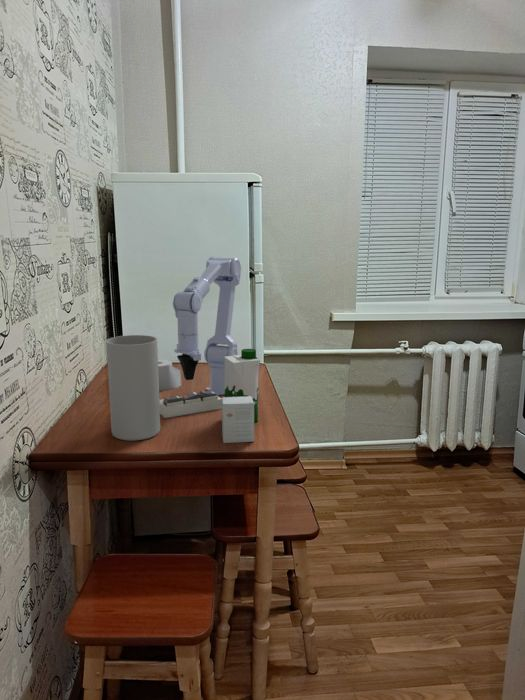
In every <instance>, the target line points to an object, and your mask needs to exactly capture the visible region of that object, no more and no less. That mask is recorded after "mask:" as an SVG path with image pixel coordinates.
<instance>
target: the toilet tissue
mask: <svg viewBox="0 0 525 700" xmlns="http://www.w3.org/2000/svg"><path fill="white" fill-rule="evenodd" d="M181 373H182V372H181V369H178V368H176V367H175V366H173V361H171V360H169V359H168V360H167V359H158V377H159V392H163V391H164V390H165V391H169V390H173V389H172V388H174V389H178V388H180V387H182V375H181ZM179 386H180V387H179ZM168 389H169V390H168Z"/></svg>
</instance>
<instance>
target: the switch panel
mask: <svg viewBox="0 0 525 700" xmlns="http://www.w3.org/2000/svg"><path fill="white" fill-rule="evenodd" d="M182 396H183V395H182ZM182 396H180V397H181V398H182ZM199 397H200V398H199V399H192V400H186V401H185V402H184V401H183V399H182V401H179V402H173V403H167V404H166V403H165V402H164V398H161V399H160V398H159V405H160V416H161V417H163V419H167V418H168V419H169V418H174V417H179V416H185V415H192V414H197V413H204V412H209V411H216V410H220V409H221V410H222V397H220V396H219V395H217V396H212V397H205V398H202V397H201V396H200V395H199Z"/></svg>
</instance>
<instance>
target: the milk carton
mask: <svg viewBox="0 0 525 700" xmlns="http://www.w3.org/2000/svg"><path fill="white" fill-rule="evenodd" d="M240 353H241V354H238V355H233V356H227V357H224V365H225V394H224V397H246V396H252V399H253V402H254V423H258V422H259V370H260V362H261V360H260V359H259V358H257V350H256V349H254V348H243V349H241V351H240Z"/></svg>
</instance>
